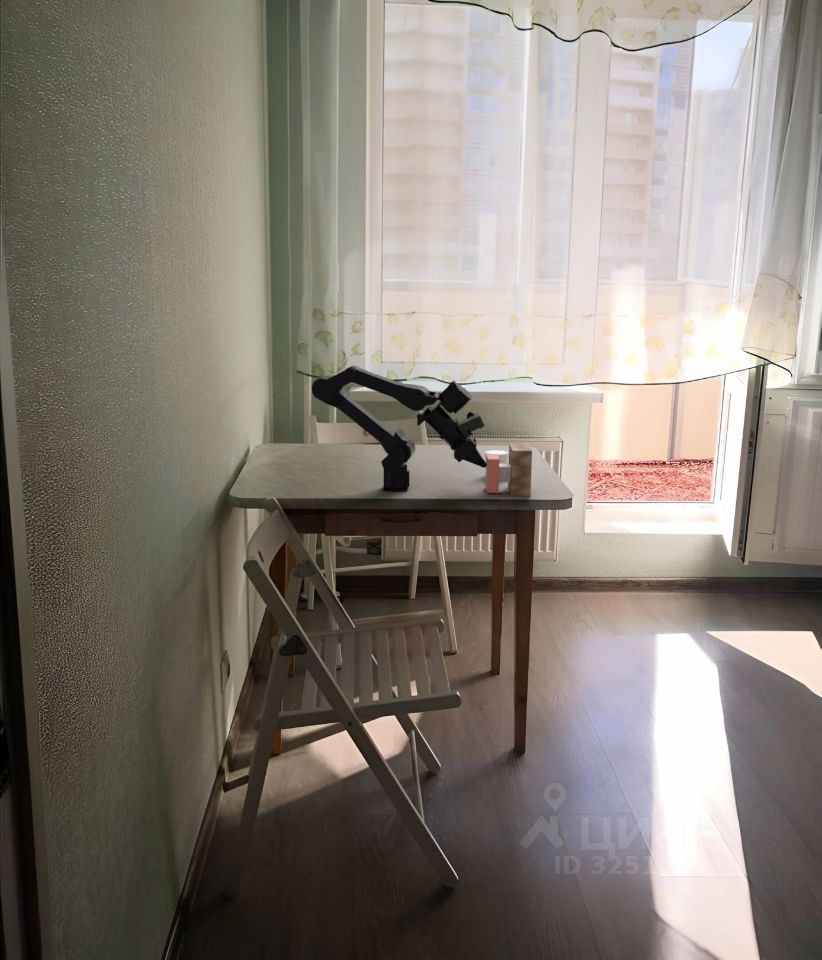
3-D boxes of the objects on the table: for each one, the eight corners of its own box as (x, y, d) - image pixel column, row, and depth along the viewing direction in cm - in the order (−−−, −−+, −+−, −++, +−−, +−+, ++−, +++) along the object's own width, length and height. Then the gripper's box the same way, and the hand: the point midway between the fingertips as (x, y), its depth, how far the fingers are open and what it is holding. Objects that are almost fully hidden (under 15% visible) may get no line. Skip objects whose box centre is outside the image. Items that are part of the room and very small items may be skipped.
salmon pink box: (487, 492, 241) (487, 459, 239) (485, 486, 248) (486, 453, 246) (521, 493, 241) (522, 459, 239) (519, 486, 248) (520, 453, 245)
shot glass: (482, 473, 264) (482, 449, 262) (506, 473, 264) (506, 449, 263) (485, 479, 257) (486, 454, 256) (510, 478, 258) (510, 454, 256)
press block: (511, 495, 239) (512, 450, 237) (507, 486, 249) (509, 442, 246) (530, 496, 239) (532, 450, 237) (526, 486, 249) (527, 443, 246)
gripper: (467, 409, 230) (511, 452, 232) (464, 397, 248) (505, 438, 250) (436, 440, 232) (479, 483, 234) (435, 426, 250) (475, 466, 252)
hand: (485, 466), depth 243 cm, fingers closed, pressing on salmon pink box
